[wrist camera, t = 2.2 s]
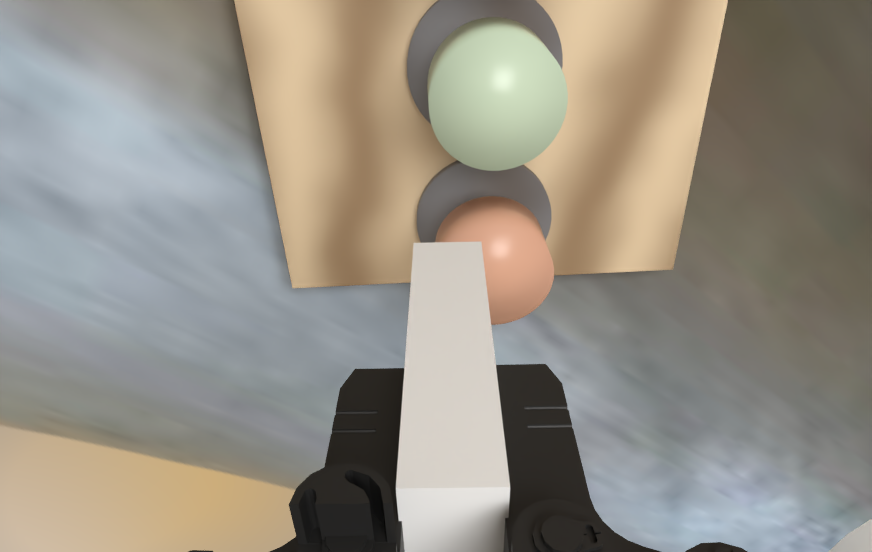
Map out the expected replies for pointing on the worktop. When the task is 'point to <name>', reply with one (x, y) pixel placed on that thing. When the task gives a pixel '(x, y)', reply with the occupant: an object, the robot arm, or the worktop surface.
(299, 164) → the button board
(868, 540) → the cylinder
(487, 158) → the sage button
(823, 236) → the worktop surface
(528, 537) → the robot arm
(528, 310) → the terracotta button
